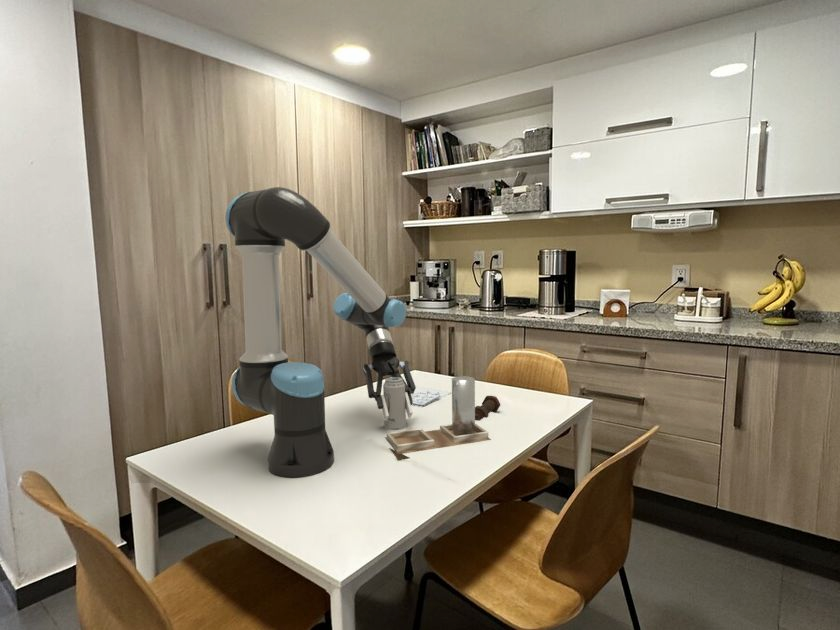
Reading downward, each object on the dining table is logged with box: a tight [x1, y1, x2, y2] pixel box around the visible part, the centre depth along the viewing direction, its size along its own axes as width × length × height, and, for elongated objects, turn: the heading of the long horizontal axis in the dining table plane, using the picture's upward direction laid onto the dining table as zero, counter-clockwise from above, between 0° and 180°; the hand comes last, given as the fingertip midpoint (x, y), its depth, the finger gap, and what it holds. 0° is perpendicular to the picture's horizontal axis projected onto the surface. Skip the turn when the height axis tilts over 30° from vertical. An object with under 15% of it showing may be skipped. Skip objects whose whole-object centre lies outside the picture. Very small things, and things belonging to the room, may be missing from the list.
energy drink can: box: [382, 376, 407, 431], centre depth 132 cm, size 6×6×15 cm
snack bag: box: [411, 385, 452, 407], centre depth 169 cm, size 19×20×2 cm
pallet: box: [384, 423, 492, 461], centre depth 123 cm, size 25×12×3 cm, turn 110°
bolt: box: [475, 395, 501, 422], centre depth 144 cm, size 6×5×15 cm
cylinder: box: [451, 375, 476, 436], centre depth 125 cm, size 6×6×15 cm
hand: (398, 416), depth 129 cm, fingers closed on energy drink can, 6 cm apart
